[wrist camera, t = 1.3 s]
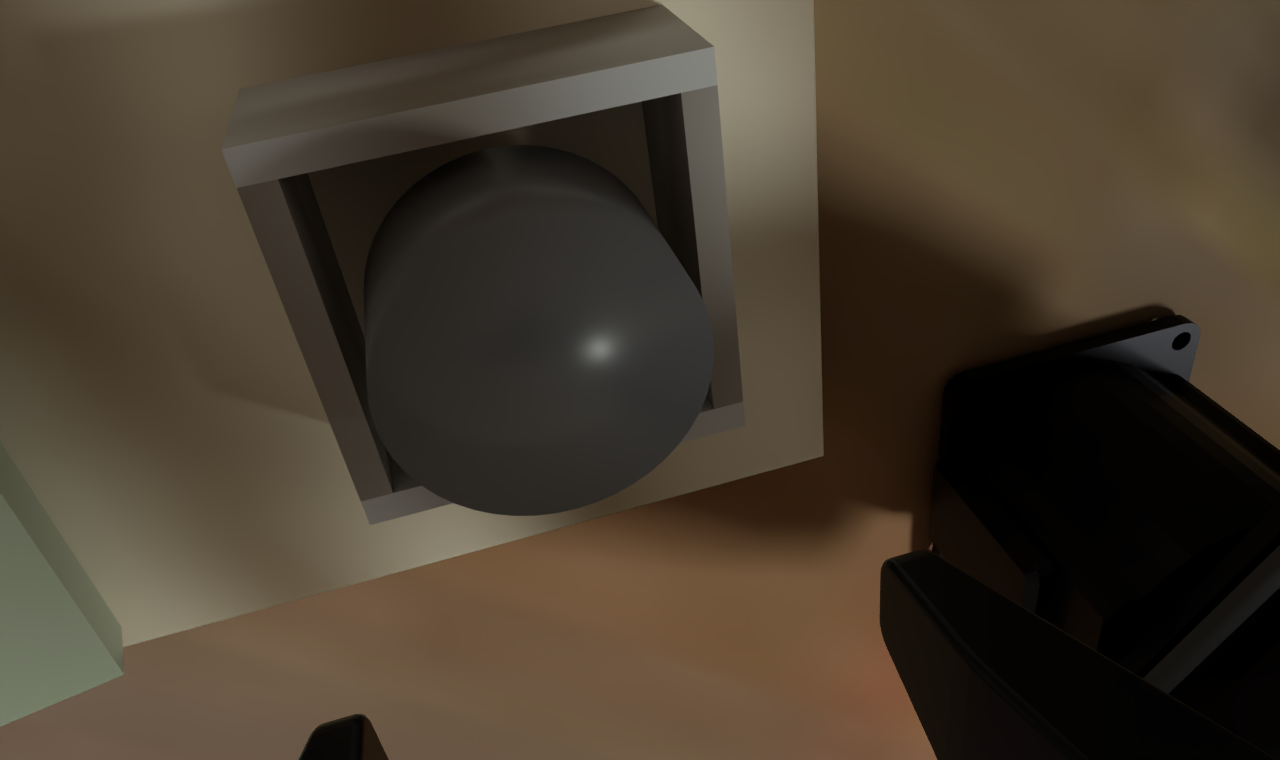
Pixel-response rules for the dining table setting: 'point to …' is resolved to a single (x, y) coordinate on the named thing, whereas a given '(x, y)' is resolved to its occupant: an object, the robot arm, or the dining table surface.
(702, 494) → the dining table surface
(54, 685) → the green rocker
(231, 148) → the control panel
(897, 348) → the dining table surface
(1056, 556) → the robot arm
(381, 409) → the black button
